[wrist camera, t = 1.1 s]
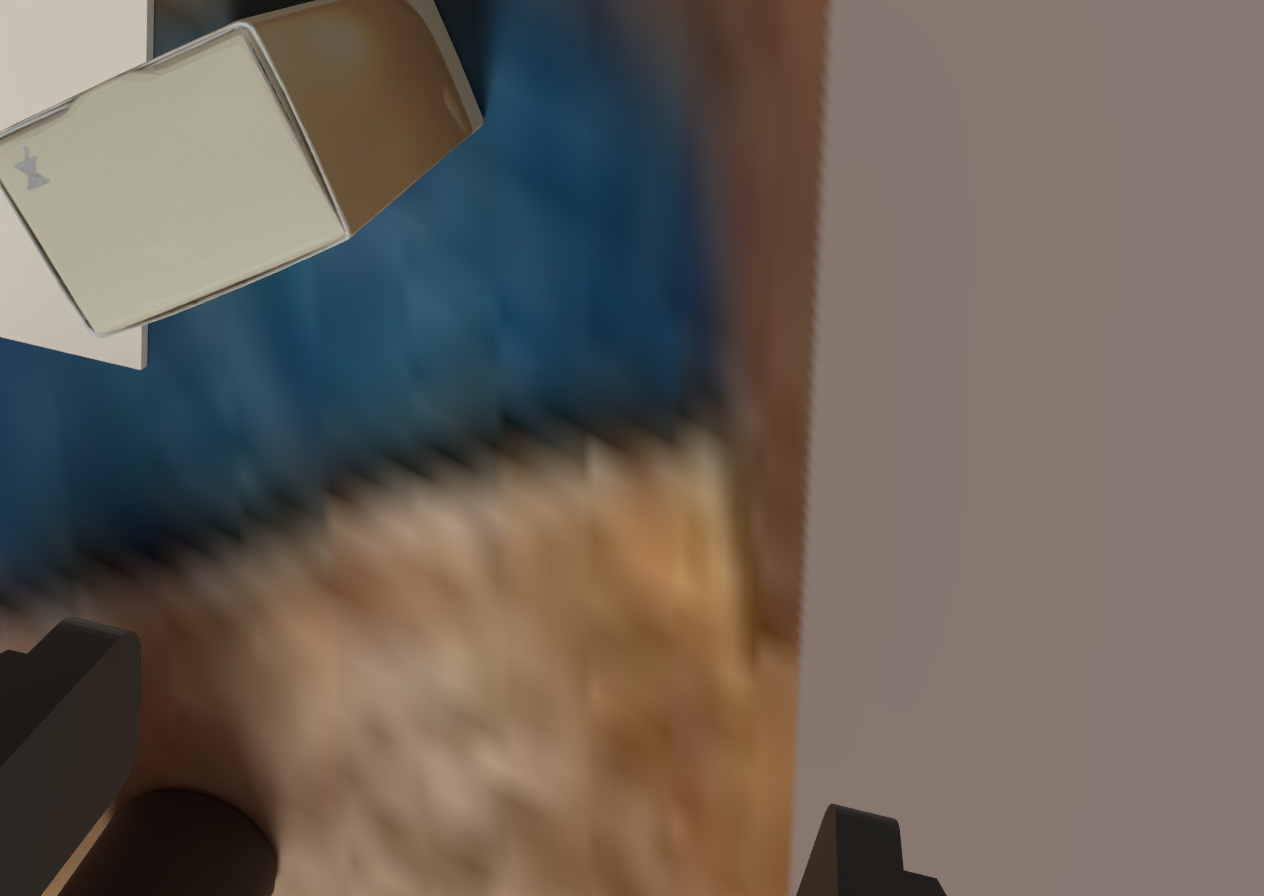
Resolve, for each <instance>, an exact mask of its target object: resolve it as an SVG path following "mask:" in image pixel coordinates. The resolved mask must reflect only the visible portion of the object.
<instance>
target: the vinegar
mask: <svg viewBox="0 0 1264 896" xmlns="http://www.w3.org/2000/svg"><path fill="white" fill-rule="evenodd" d="M275 874H276V864H275V861H274V858H273V855H272V852H271V849H270V846H269V844H268V843H267V842H266V840H265V839H264V837H263V836H262V835H261V833H260V832H259V831H258V829H257V828H256V827H255V825H254V824H253V823H251V822H250V821H249V820H248V819H246V818H245V817H244V816H243V815H241V814H240V813H239V812H238V811H237V810H235V809H234V808H232V807H230V806H228V805H226V804H224V803H222V802H220V801H218V800H216V799H214V798H212V797H209V796H205V795H200V794H196V793H192V792H188V791H155V792H152V793H149V794H146V795H143V796H140V797H137V798H135V799H133V800H132V801H131V802H129V803H128V804H127V805H126V806H125V807H123V808H122V809H121V810H120V811H118V812H117V813H116V814H115V815H114V817H113V818H112V819H111V821H110V822H109V824H108V825H107V827H106V828H105V829H104V831H103V832H102V834H101V835H100V836H99V838H98V839H97V841H96V842H95V843H94V845H93V846H92V848H91V849H90V850H89V852H88V853H87V855H86V856H85V858H84V859H83V860H82V862H81V863H80V865H79V866H78V867H77V869H76V870H75V872H74V873H73V874H72V876H71V877H70V879H69V880H68V881H67V883H66V884H65V886H64V887H63V889H62V890H61V891H60V893H59V894H58V896H271V895H272V893H273V891H274V886H275Z"/></svg>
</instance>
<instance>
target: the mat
mask: <svg viewBox="0 0 1264 896" xmlns="http://www.w3.org/2000/svg"><path fill="white" fill-rule="evenodd" d="M153 39H154V0H0V131H2V130H4V129H6V128H8V127H10V126H12V125H14V124H16V123H18V122H20V121H22V120H24V119H26V118H29V117H31V116H33V115H35V114H37V113H39V112H41V111H43V110H46V109H48V108H50V107H52V106H54V105H56V104H58V103H60V102H62V101H64V100H66V99H68V98H71V97H73V96H75V95H77V94H79V93H81V92H83V91H85V90H88V89H90V88H92V87H94V86H96V85H98V84H100V83H102V82H104V81H106V80H108V79H110V78H112V77H115V76H117V75H119V74H121V73H123V72H125V71H127V70H130V69H132V68H134V67H136V66H138V65H140V64H143V63H145V62H147V61H149V60H151V59H153ZM0 337H3V338H7V339H11V340H15V341H20V342H24V343H28V344H32V345H37V346H41V347H45V348H49V349H53V350H58V351H62V352H66V353H70V354H75V355H79V356H83V357H87V358H91V359H96V360H100V361H104V362H108V363H113V364H117V365H121V366H125V367H130V368H134V369H138V370H142V369H143V368H144V367H146V366H147V347H148V324H146V325H143V326H140V327H137V328H134V329H131V330H128V331H125V332H121V333H118V334H115V335H112V336H109V337H106V338H100V339H98V338H95V337H93V336H92V335H91V334H90V332H89V331H88V330H87V328H86V326H85V325H84V323H83V321H82V320H81V318H80V317H79V315H78V314H77V312H76V310H75V309H74V308H73V306H72V305H71V304H70V302H69V301H68V300H67V298H66V296H65V295H64V293H63V291H62V290H61V289H60V287H59V285H58V284H57V282H56V280H55V279H54V277H53V276H52V274H51V272H50V271H49V269H48V267H47V266H46V264H45V263H44V261H43V259H42V258H41V256H40V254H39V253H38V251H37V249H36V247H35V246H34V244H33V242H32V241H31V239H30V237H29V236H28V234H27V233H26V231H25V229H24V228H23V226H22V225H21V223H20V221H19V220H18V218H17V216H16V214H15V213H14V211H13V209H12V207H11V206H10V204H9V202H8V201H7V199H6V198H5V196H4V195H3V193H2V191H1V189H0Z"/></svg>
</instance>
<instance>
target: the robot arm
mask: <svg viewBox="0 0 1264 896" xmlns="http://www.w3.org/2000/svg"><path fill="white" fill-rule="evenodd" d="M140 687H141V647H140V640H139V638H138V636H137V634H136V633H134V632H131V631H127V630H123V629H119V628H115V627H111V626H107V625H103V624H98V623H94V622H90V621H86V620H82V619H78V618H74V617H69V618H66V619H64V620H63V621H61V622H60V623H59V624H57V625H56V626H55V627H54V628H53V629H52V630H51V631H50V632H49V633H48V634H47V635H46V636H45V637H44V638H43V639H42V640H41V641H40V642H39V643H38V644H37V645H36V646H35V647H34V648H33V649H32V650H31V651H30V652H29V653H28V654H25V653H21V652H17V651H12V650H6V651H4V652H2V653H0V896H41V895H42V893H43V892H44V891H45V889H46V888H47V887H48V885H49V884H50V883H51V881H52V880H53V879H54V877H55V876H56V875H57V874H58V872H59V871H60V870H61V868H62V867H63V866H64V864H65V863H66V862H67V860H68V859H69V858H70V856H71V855H72V854H73V853H74V851H75V850H76V849H77V847H78V846H79V845H80V843H81V842H82V841H83V839H84V838H85V837H86V835H87V834H88V833H89V832H90V830H91V829H92V828H93V826H94V825H95V824H96V822H97V821H98V820H99V818H100V817H101V816H102V815H103V813H104V812H105V811H106V809H107V808H108V807H109V805H110V804H111V803H112V801H113V800H114V799H115V797H116V796H117V795H118V793H119V792H120V791H121V789H122V788H123V786H124V784H125V783H126V781H127V779H128V777H129V775H130V772H131V770H132V768H133V765H134V762H135V759H136V756H137V752H138V747H139V742H140ZM796 896H947V895H946V894H945V892H944V891H943V889H942V887H941V885H940V883H939V882H938V880H937V878H933V877H928V876H924V875H920V874H916V873H912V872H908V871H904V870H903V859H902V848H901V838H900V829H899V824H898V822H897V820H895V819H893V818H889V817H885V816H881V815H877V814H873V813H869V812H864V811H860V810H856V809H852V808H848V807H844V806H840V805H836V804H830V805H829V807H828V809H827V810H826V813H825V815H824V818H823V820H822V823H821V826H820V829H819V832H818V835H817V838H816V841H815V844H814V846H813V849H812V852H811V855H810V858H809V861H808V864H807V867H806V869H805V872H804V875H803V878H802V881H801V884H800V887H799V890H798V893H797V895H796Z"/></svg>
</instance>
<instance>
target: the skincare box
mask: <svg viewBox="0 0 1264 896" xmlns="http://www.w3.org/2000/svg"><path fill="white" fill-rule="evenodd" d="M482 124H483V117H482V115H481V112H480V110H479V107H478V105H477V102H476V100H475V97H474V95H473V92H472V90H471V87H470V85H469V82H468V79H467V77H466V75H465V73H464V70H463V68H462V65H461V63H460V60H459V58H458V56H457V53H456V51H455V49H454V46H453V44H452V42H451V39H450V37H449V35H448V32H447V30H446V28H445V25H444V23H443V21H442V19H441V16H440V14H439V12H438V9H437V7H436V5H435V3H434V0H315V1H311V2H307V3H303V4H299V5H295V6H291V7H287V8H284V9H280V10H276V11H272V12H268V13H264V14H260V15H256V16H252V17H248V18H244V19H241V20H237V21H235V22H233V23H231V24H229V25H226V26H224V27H222V28H220V29H218V30H216V31H213V32H211V33H209V34H206V35H204V36H202V37H200V38H197V39H195V40H193V41H191V42H189V43H186V44H184V45H182V46H180V47H178V48H175V49H173V50H171V51H169V52H167V53H164V54H162V55H160V56H158V57H155V58H153V59H151V60H149V61H147V62H145V63H143V64H140V65H138V66H136V67H134V68H132V69H130V70H127V71H125V72H123V73H121V74H119V75H117V76H115V77H112V78H110V79H108V80H106V81H104V82H102V83H100V84H98V85H96V86H94V87H92V88H90V89H88V90H85V91H83V92H81V93H79V94H77V95H75V96H73V97H71V98H68V99H66V100H64V101H62V102H60V103H58V104H56V105H54V106H52V107H50V108H48V109H46V110H43V111H41V112H39V113H37V114H35V115H33V116H31V117H29V118H26V119H24V120H22V121H20V122H18V123H16V124H14V125H12V126H10V127H8V128H6V129H4V130H2V131H0V189H1V191H2V193H3V195H4V196H5V198H6V199H7V201H8V202H9V204H10V206H11V207H12V209H13V211H14V213H15V214H16V216H17V218H18V220H19V221H20V223H21V225H22V226H23V228H24V229H25V231H26V233H27V234H28V236H29V237H30V239H31V241H32V242H33V244H34V246H35V247H36V249H37V251H38V253H39V254H40V256H41V258H42V259H43V261H44V263H45V264H46V266H47V267H48V269H49V271H50V272H51V274H52V276H53V277H54V279H55V280H56V282H57V284H58V285H59V287H60V289H61V290H62V291H63V293H64V295H65V296H66V298H67V300H68V301H69V302H70V304H71V305H72V306H73V308H74V309H75V310H76V312H77V314H78V315H79V317H80V318H81V320H82V321H83V323H84V325H85V326H86V328H87V330H88V331H89V332H90V334H91V335H92V336H93V337H95V338H98V339H100V338H106V337H109V336H112V335H115V334H118V333H121V332H125V331H128V330H131V329H134V328H137V327H140V326H143V325H146V324H149V323H151V322H154V321H157V320H160V319H163V318H165V317H168V316H171V315H174V314H176V313H179V312H181V311H184V310H186V309H189V308H191V307H194V306H197V305H199V304H201V303H204V302H206V301H208V300H211V299H214V298H216V297H219V296H221V295H223V294H226V293H228V292H231V291H233V290H235V289H238V288H240V287H243V286H245V285H248V284H250V283H252V282H255V281H257V280H259V279H262V278H264V277H266V276H268V275H271V274H273V273H275V272H278V271H280V270H282V269H285V268H287V267H289V266H291V265H293V264H295V263H297V262H299V261H302V260H304V259H307V258H309V257H311V256H313V255H316V254H318V253H320V252H322V251H324V250H326V249H329V248H331V247H333V246H335V245H337V244H340V243H342V242H344V241H346V240H348V239H349V238H351V237H352V236H353V235H354V234H355V233H357V232H358V231H359V230H360V229H361V228H362V227H363V226H364V225H365V224H367V223H368V222H369V221H370V220H371V219H373V218H374V217H375V216H376V215H377V214H379V213H380V212H381V211H382V210H383V209H385V208H386V207H387V206H388V205H389V204H390V203H391V202H393V201H394V200H395V199H396V198H397V197H398V196H399V195H401V194H402V193H403V192H404V191H405V190H406V189H408V188H409V187H410V186H411V185H412V184H413V183H415V182H416V181H417V180H418V179H419V178H420V177H421V176H422V175H424V174H425V173H426V172H427V171H429V170H430V169H431V168H432V167H433V166H435V165H436V164H437V163H438V162H439V161H440V160H441V159H443V158H444V157H445V156H446V155H447V154H448V153H449V152H451V151H452V150H453V149H454V148H455V147H457V146H458V145H459V144H461V143H462V142H463V141H464V140H465V139H466V138H467V137H469V136H470V135H471V134H473V133H474V132H475V131H476V130H477V129H478V128H480V127H481V126H482Z"/></svg>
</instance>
